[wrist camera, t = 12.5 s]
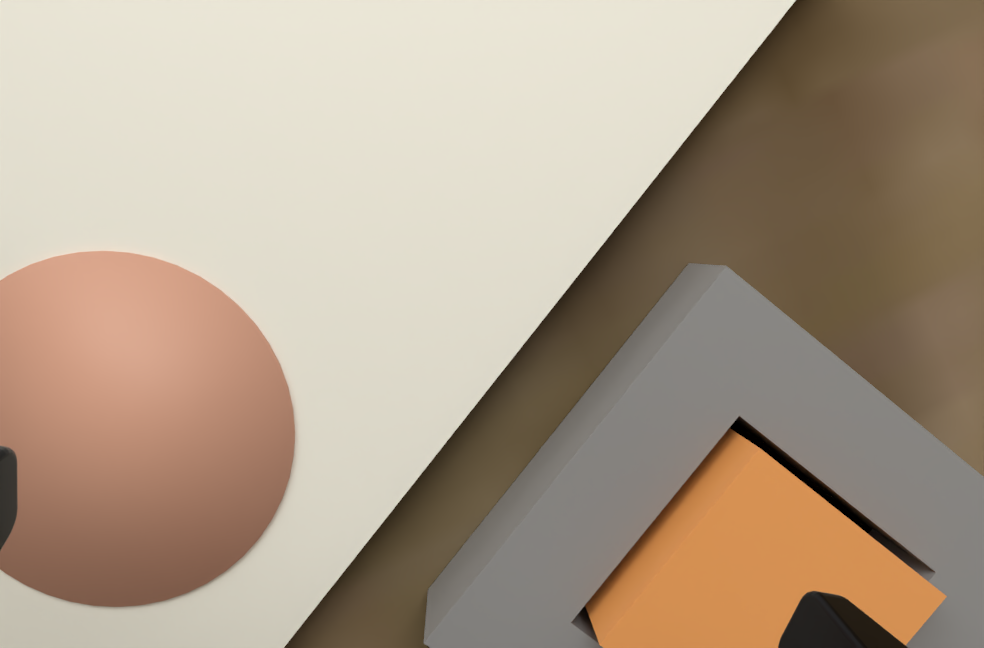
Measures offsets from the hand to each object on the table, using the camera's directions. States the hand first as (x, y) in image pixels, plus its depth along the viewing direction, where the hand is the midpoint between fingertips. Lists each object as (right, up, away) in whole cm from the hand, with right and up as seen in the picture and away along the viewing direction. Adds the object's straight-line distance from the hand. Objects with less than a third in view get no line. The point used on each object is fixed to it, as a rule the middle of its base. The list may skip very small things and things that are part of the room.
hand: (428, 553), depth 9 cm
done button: (+6, -3, +9) cm, 11 cm away
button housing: (+6, -3, +10) cm, 12 cm away
